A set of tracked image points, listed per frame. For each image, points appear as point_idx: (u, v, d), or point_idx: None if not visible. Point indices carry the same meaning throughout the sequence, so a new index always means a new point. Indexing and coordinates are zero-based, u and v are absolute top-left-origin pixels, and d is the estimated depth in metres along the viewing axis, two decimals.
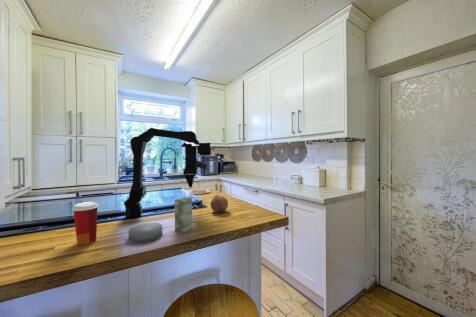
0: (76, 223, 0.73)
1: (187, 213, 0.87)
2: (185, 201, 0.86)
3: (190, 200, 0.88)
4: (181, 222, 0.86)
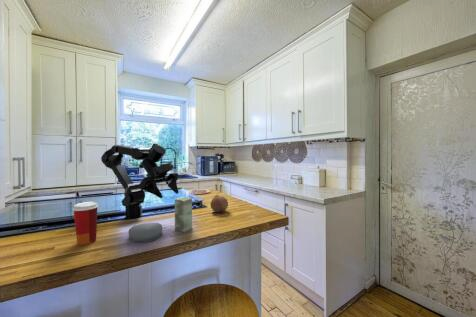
0: (76, 223, 0.73)
1: (187, 213, 0.87)
2: (185, 201, 0.86)
3: (190, 200, 0.88)
4: (181, 222, 0.86)
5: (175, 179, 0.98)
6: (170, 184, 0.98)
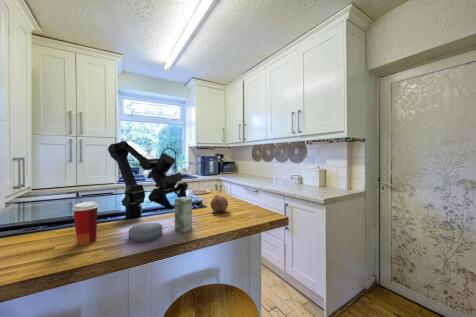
0: (76, 223, 0.73)
1: (187, 213, 0.87)
2: (185, 201, 0.86)
3: (190, 200, 0.88)
4: (181, 222, 0.86)
5: (184, 189, 0.95)
6: (179, 194, 0.96)
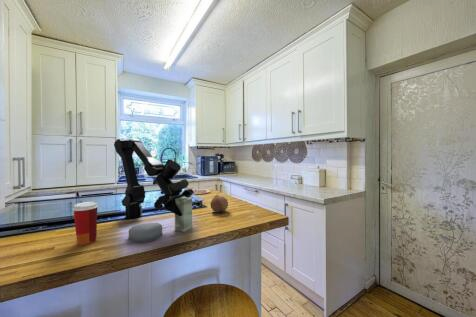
0: (76, 223, 0.73)
1: (187, 212, 0.87)
2: (185, 201, 0.86)
3: (190, 200, 0.88)
4: (181, 222, 0.86)
5: None
6: None
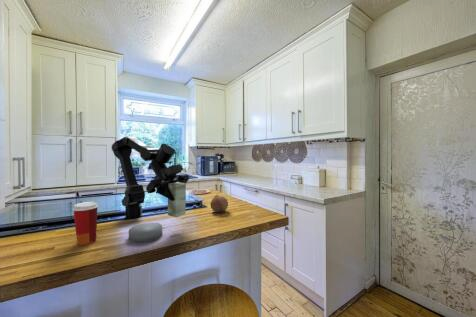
0: (76, 223, 0.73)
1: (180, 198, 0.85)
2: (178, 186, 0.83)
3: (184, 185, 0.86)
4: (173, 207, 0.84)
5: (181, 182, 0.90)
6: None
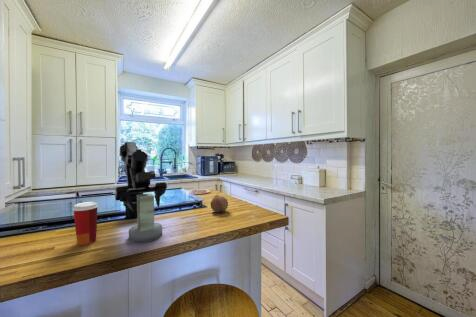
0: (76, 223, 0.73)
1: (146, 211, 0.79)
2: (142, 198, 0.78)
3: (151, 197, 0.80)
4: (139, 220, 0.79)
5: (159, 190, 0.86)
6: (155, 195, 0.87)
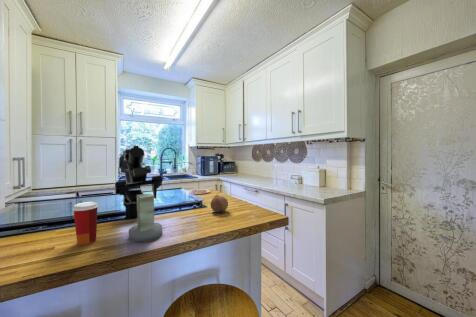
0: (76, 223, 0.73)
1: (146, 211, 0.79)
2: (142, 198, 0.78)
3: (151, 197, 0.80)
4: (139, 220, 0.79)
5: (155, 183, 0.92)
6: (152, 187, 0.94)
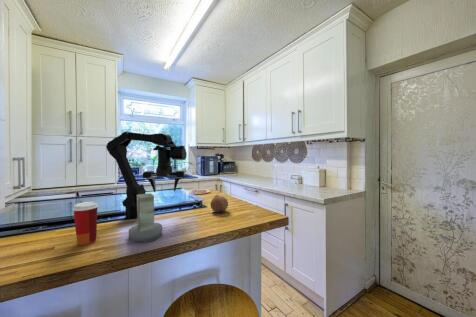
0: (76, 223, 0.73)
1: (146, 211, 0.79)
2: (142, 198, 0.78)
3: (151, 197, 0.80)
4: (139, 220, 0.79)
5: (176, 179, 1.00)
6: None
